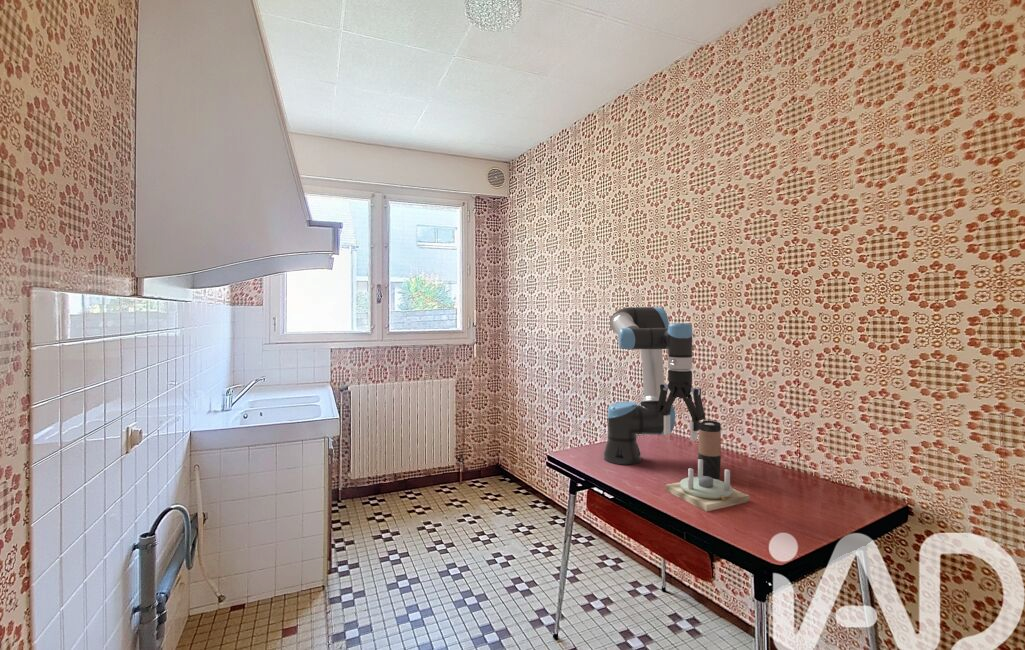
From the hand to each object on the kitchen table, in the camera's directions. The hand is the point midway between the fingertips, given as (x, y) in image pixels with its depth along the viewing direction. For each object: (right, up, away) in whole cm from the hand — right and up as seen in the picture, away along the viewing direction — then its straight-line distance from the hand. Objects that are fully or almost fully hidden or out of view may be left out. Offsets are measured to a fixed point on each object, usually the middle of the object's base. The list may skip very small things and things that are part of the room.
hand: (679, 437), depth 152 cm
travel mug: (+17, -19, +18) cm, 31 cm away
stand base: (+9, -19, 0) cm, 21 cm away
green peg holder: (+9, -17, 0) cm, 19 cm away
